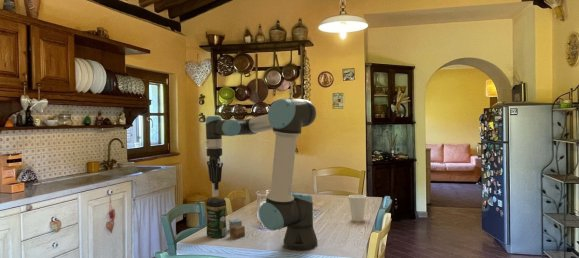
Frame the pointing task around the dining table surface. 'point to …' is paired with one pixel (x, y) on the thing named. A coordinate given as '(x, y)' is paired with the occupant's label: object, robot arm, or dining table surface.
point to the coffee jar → (216, 217)
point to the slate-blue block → (234, 223)
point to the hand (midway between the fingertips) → (215, 196)
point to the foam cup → (357, 207)
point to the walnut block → (237, 231)
